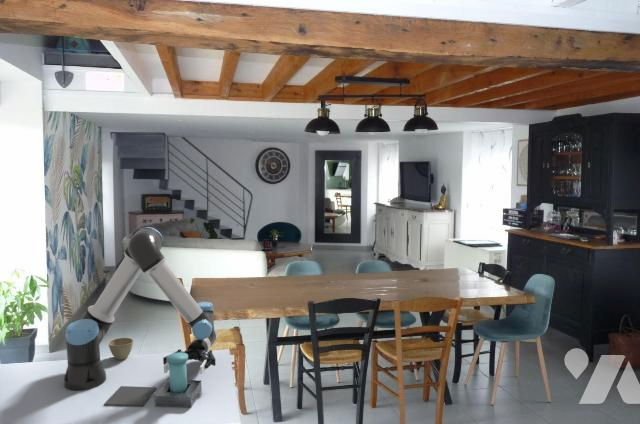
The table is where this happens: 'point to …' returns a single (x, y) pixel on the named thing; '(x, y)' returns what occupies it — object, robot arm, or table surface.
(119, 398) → the mat
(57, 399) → the table surface
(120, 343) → the flower pot
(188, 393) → the housing
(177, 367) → the teal capped cylinder
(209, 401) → the table surface
